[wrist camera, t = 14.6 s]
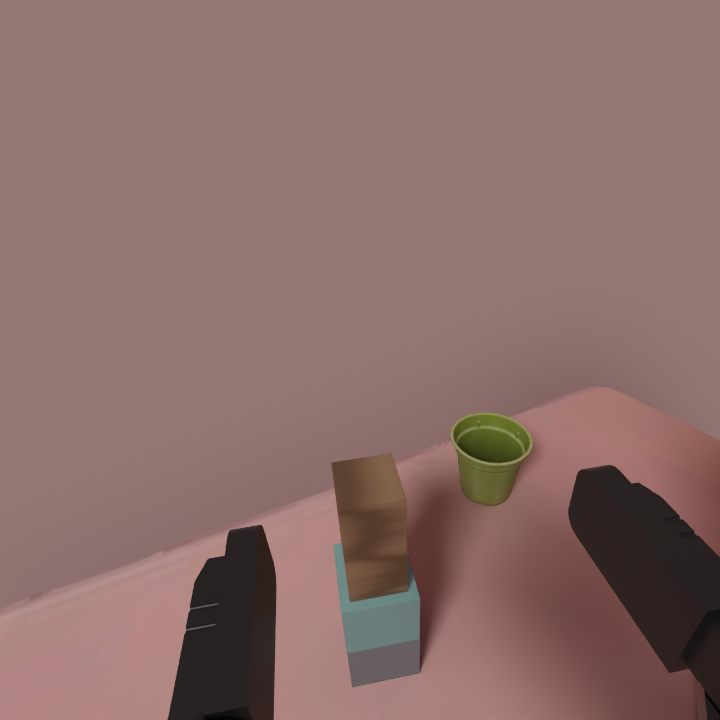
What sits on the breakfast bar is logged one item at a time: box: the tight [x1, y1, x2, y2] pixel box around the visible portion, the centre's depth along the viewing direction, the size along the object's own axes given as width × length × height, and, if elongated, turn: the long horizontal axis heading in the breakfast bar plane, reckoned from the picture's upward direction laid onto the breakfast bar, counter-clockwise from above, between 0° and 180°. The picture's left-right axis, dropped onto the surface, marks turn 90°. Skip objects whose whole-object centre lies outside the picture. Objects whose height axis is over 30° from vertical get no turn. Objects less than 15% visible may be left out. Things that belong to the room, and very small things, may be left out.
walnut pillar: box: [332, 453, 408, 602], centre depth 32 cm, size 4×4×10 cm
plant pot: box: [451, 413, 533, 506], centre depth 53 cm, size 9×9×9 cm
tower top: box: [334, 543, 420, 653], centre depth 36 cm, size 6×6×6 cm
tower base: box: [347, 639, 420, 687], centre depth 39 cm, size 6×6×6 cm
